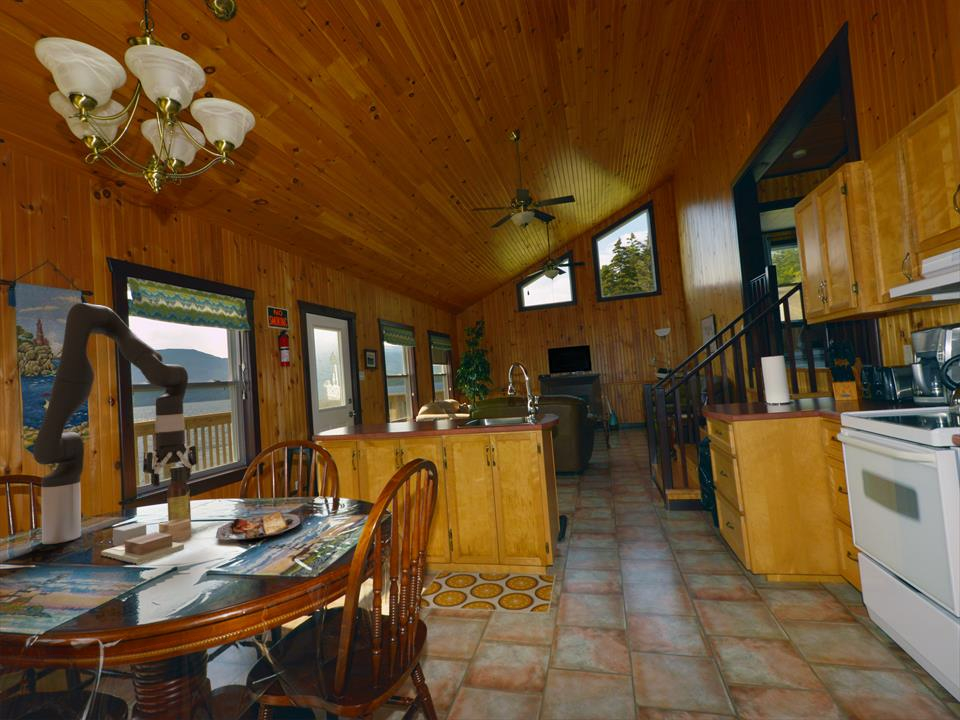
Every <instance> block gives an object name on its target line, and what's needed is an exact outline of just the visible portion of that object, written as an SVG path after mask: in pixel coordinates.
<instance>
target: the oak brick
mask: <svg viewBox="0 0 960 720" xmlns="http://www.w3.org/2000/svg"><path fill="white" fill-rule="evenodd" d="M158 532H159V533H165V534H171V535H172V542H177V541H179V540H183V539H186V538H189V537H192V519H191V520H188V519H181V518H178V519H175V520H171V521H168V520H167V521H164V522H161V523H158Z"/></svg>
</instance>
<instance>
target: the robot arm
mask: <svg viewBox="0 0 960 720" xmlns="http://www.w3.org/2000/svg"><path fill="white" fill-rule="evenodd" d="M91 334H92V335H103V336H105V337H107V338H109V339H111V340H112V341H114V342H115V343H116V344H117V347H118V349H119V351H120V353H121V355H122V356H123V357H124V359H125V360H127V361H128V362H129V363H131V364H132V365H133V366H134V367H136V368H137V369H139V370H140V372H141V373H142V375H143V376H144V378H146V380H147V381H148V383H150V384H151V385H153V386H155V387H158V388H165V391H164V393H163V395H161V396H158V397H157V398H156V399H155V421H154V433H155V437H154V438H155V440H154V442H155V451H145V452H143V461H142V462H143V463H142V472H143V473H145V474H146V473H147V474H150V484H151V485H152V486H153V487H156V488H158V487H160V481H161V480H160V471H161V469H162V468H163V467H164V466H165V465H169V464H172V463H175V464H176V463H178V464H180V466H183V467H184V468H183V480H185V481H186V482H187V481H189V480H190V479H191V476H192V475H191V474H192V473H191V468H192V467H193V466H195V465H197V464H198V458H197V449H196V448H197V447H196V445H188V446H185V444H186V435H185V434H186V431H185V430H186V429H185V428H186V427H185V426H186V423H185V417H184V398H185V394H186V390H187V386H188V383H189V374H188V371H187V370H186V368H185V367H184V366H182V365H180V364H167V363H164V362H163V356H162V355H161V354H160V352H158V351H157V350H156V349H154V348H153V347H152V346H150V345H149V344H148V343H146V342H145V341H144V340H143V339H141V338H140V337H139V336H138V335H137V334H136V333H134V332H133V330H131V328H130V327H129V326H128V325H127V324H126V323H125V322H124V321H123V320H122V319H121V317H120V316H119V315H118V314H117V313H116V312H115V311H114V310H112V309H111V308H110V307H108V306H105V305H100V304H92V303H85V302H79V303H76V304H74V305H73V306H71V308H70V309H69V310H68V313H67V315H66V321H65V329H64V338H63V343H62V349H61V355H60V359H59V363H58V367H57V370H56V374H55V377H54V381H53V385H52V389H51V393H50V398H49V401H48V402H49V403H48V405H47V408H46V412H45V415H44V418H43V421H42V422H41V425H40V428H39V431H38V433H37V435H36V438H35V441H34V446H33V448H32V449H33V452H32V453H33V459H34V460H35V461H36V463H38V464H40V465H45V466H46V465H53V464H57V466H56V467H55V469H53V470H52V471H51V472H50V473H48V474H46V475H44V476H43V477H42V478H41V483H40V484H41V490H40V491H41V544H43V545H54V544H60V543H61V544H62V543H65V542H69V541H72V540H76V539H79V538H80V537H81V536H82V505H81V504H82V500H81V498H82V497H81V496H82V495H81V493H82V492H81V477H82V474H83V472H84V471H83V470H84V454H85V444H84V440H83V438H82V436H81V435H80V434H79V433H77V432H74V431H70V432H69V431H68V432H67V431H66V432H64V431H65V428H66V425H67V423H68V422H69V420H70V419H71V418H72V416H73V415H74V414H75V413H76V412H77V411H78V410H79V409H80V408H81V407H82V406H83V405H84V403H86V402H87V401H88V399H89V397H90V396H91V392H92V388H93V384H94V382H95V371H94V368H93V365H92V362H91V361H90V357H89V356H88V343H89V340H90V339H89V338H90V335H91ZM185 453H187V458H186V457H185ZM155 458H157V459H156V460H155V462H154V464H153V460H154V459H155Z"/></svg>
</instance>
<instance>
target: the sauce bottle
mask: <svg viewBox="0 0 960 720" xmlns="http://www.w3.org/2000/svg"><path fill="white" fill-rule="evenodd" d="M183 468H184V467H183V466H182V465H177V466H172V467H170V468H169V473H170V483H169V485H168V487H167V499H166V500H167V516H168V517H167V518H168V519H167V521H171V520H175V519H178V518H181V519H188V520H191V521H192V515H191V514H192V513H191V512H192V511H191V496H190V495H191V492H190V491H191V490H190V487H189V486H188V483H187V481H185V480H183Z"/></svg>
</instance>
